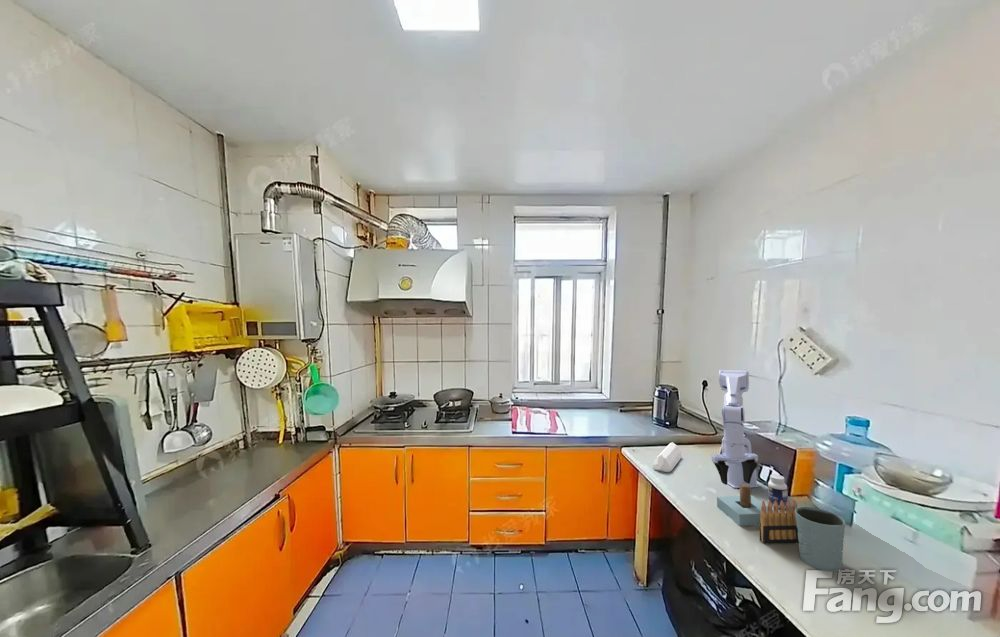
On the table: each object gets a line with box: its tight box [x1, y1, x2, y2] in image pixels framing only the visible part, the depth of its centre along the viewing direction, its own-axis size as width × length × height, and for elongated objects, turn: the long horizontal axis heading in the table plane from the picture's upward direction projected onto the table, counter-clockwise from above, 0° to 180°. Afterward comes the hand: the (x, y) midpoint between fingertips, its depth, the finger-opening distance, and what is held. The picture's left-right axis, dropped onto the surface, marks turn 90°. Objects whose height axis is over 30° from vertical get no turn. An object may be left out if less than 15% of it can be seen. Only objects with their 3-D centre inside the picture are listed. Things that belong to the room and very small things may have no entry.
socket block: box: [716, 494, 773, 527], centre depth 124 cm, size 12×12×4 cm
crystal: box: [652, 441, 682, 473], centre depth 170 cm, size 7×7×24 cm
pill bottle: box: [767, 473, 789, 509], centre depth 130 cm, size 5×5×10 cm
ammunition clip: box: [759, 499, 799, 545], centre depth 109 cm, size 11×2×12 cm, turn 89°
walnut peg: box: [739, 484, 752, 508], centre depth 124 cm, size 3×3×10 cm
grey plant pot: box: [795, 506, 846, 572], centre depth 100 cm, size 10×10×12 cm
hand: (735, 482), depth 127 cm, fingers open, 7 cm apart
